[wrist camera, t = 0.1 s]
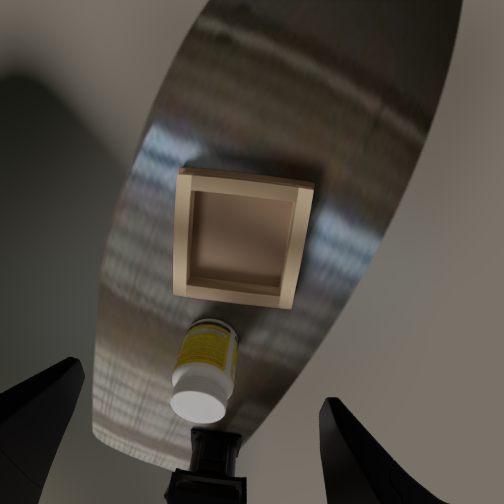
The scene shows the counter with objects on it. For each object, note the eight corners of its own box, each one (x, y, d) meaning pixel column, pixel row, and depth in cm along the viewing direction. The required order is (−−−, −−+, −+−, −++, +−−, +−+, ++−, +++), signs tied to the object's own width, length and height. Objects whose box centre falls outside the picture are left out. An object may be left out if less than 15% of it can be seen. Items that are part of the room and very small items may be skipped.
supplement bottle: (177, 328, 25) (150, 395, 17) (219, 308, 24) (204, 378, 16) (206, 363, 27) (192, 431, 19) (248, 346, 26) (244, 418, 18)
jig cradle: (291, 298, 24) (294, 312, 21) (177, 283, 23) (169, 297, 21) (312, 182, 20) (318, 186, 18) (182, 166, 20) (173, 169, 18)
